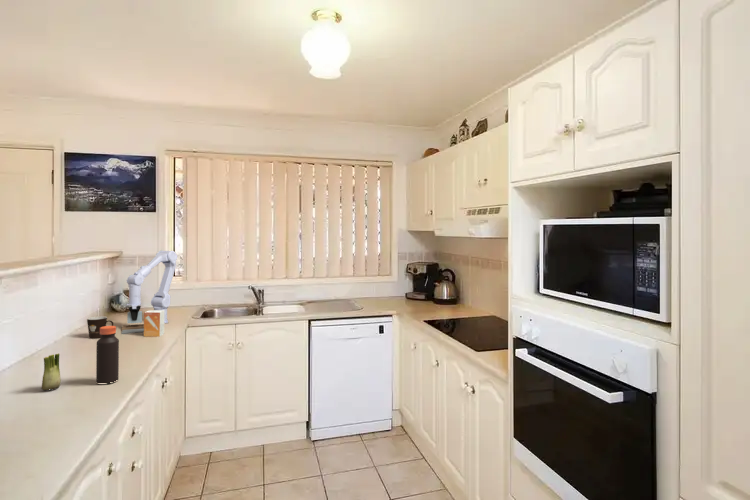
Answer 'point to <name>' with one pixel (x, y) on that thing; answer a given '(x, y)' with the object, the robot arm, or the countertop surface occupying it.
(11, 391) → the countertop surface
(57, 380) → the fennel bulb
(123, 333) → the rubber mat
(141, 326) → the walnut frame
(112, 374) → the bottle
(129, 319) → the painted block
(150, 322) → the small box
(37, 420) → the countertop surface
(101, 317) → the coffee mug
